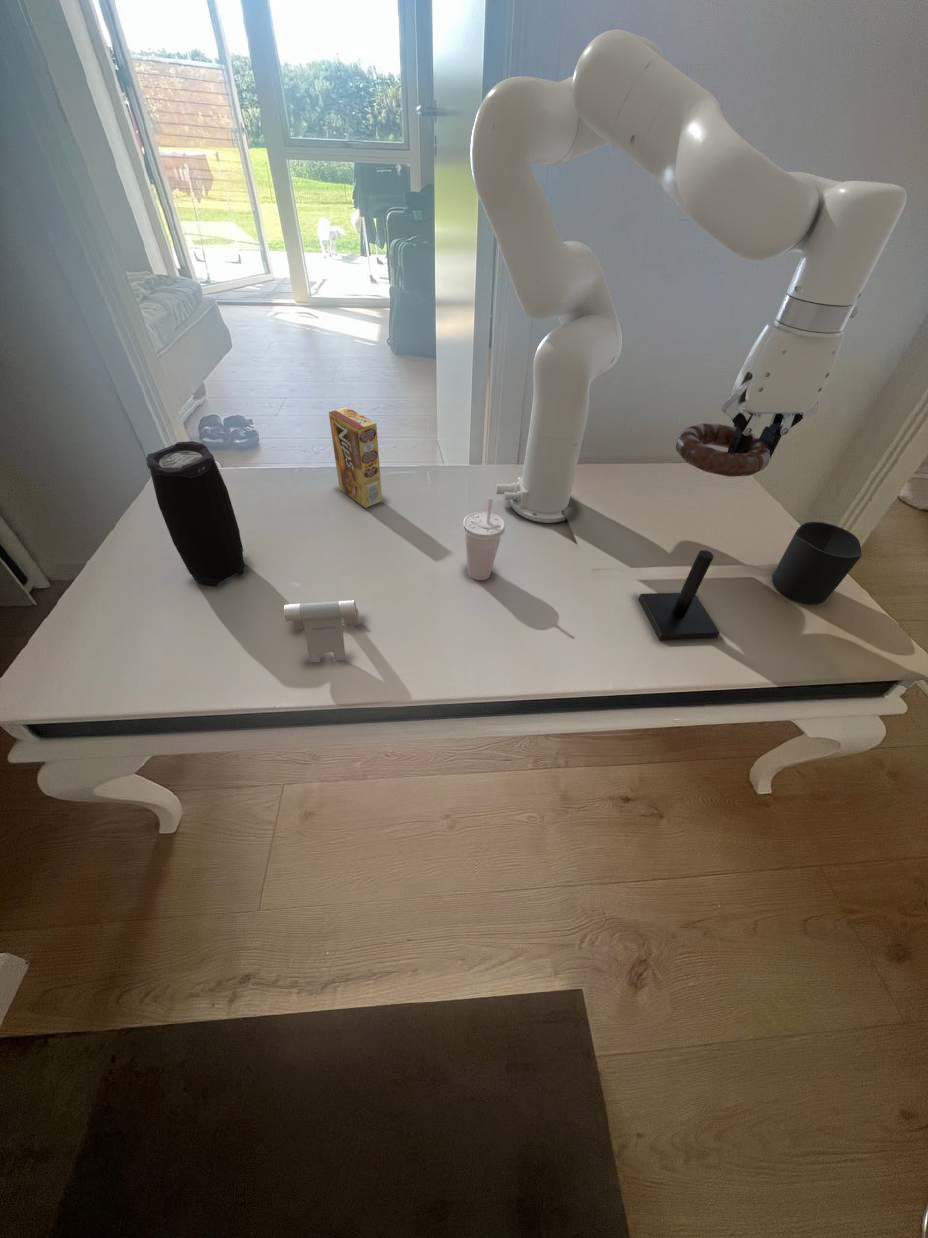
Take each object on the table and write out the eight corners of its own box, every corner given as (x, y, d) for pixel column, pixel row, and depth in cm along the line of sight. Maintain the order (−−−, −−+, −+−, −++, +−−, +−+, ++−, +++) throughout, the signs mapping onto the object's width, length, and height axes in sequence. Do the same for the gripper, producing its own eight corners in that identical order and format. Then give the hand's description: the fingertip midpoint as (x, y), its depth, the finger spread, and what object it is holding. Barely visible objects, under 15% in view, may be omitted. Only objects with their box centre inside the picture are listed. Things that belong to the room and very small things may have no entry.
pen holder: (841, 599, 85) (879, 550, 78) (800, 613, 82) (835, 563, 75) (796, 565, 91) (826, 517, 84) (756, 576, 88) (784, 527, 81)
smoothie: (495, 588, 82) (505, 512, 73) (455, 581, 83) (460, 505, 73) (501, 564, 87) (511, 489, 77) (463, 557, 88) (469, 483, 78)
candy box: (383, 501, 99) (378, 422, 88) (365, 509, 96) (357, 429, 86) (355, 483, 103) (347, 405, 92) (337, 490, 101) (327, 411, 90)
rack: (659, 640, 76) (688, 575, 68) (638, 599, 83) (662, 535, 74) (716, 638, 77) (753, 574, 69) (691, 597, 84) (722, 534, 75)
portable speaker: (178, 587, 78) (127, 468, 65) (205, 550, 85) (163, 435, 72) (234, 592, 78) (195, 474, 65) (257, 555, 85) (225, 440, 71)
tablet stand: (359, 618, 76) (354, 574, 70) (360, 659, 70) (354, 614, 65) (297, 622, 75) (287, 577, 69) (294, 664, 69) (282, 619, 63)
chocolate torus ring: (696, 481, 70) (705, 460, 68) (660, 439, 78) (666, 420, 76) (781, 479, 71) (792, 458, 69) (736, 438, 80) (744, 419, 78)
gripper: (853, 308, 66) (784, 445, 79) (733, 305, 64) (682, 446, 77) (895, 326, 61) (814, 470, 74) (766, 323, 59) (705, 471, 72)
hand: (747, 456), depth 75 cm, fingers closed on chocolate torus ring, 3 cm apart
